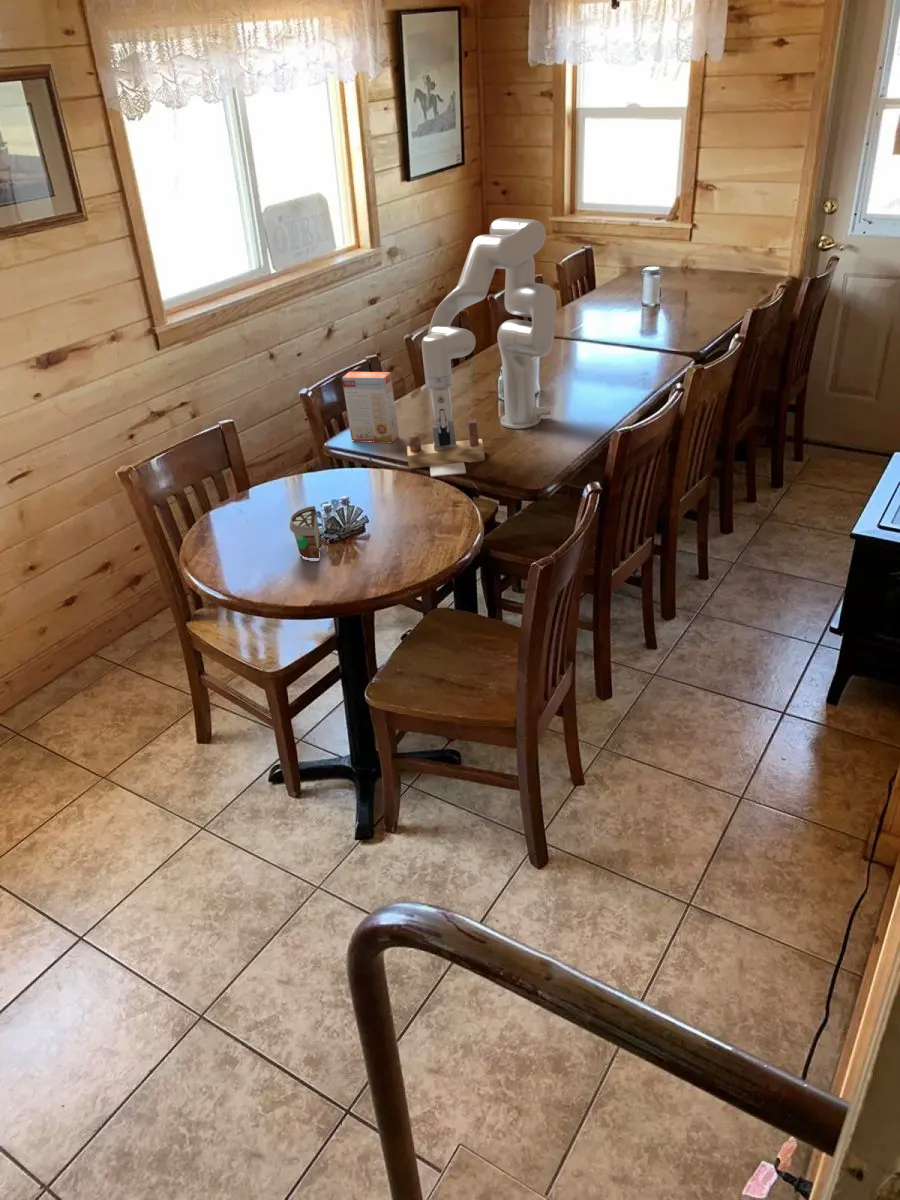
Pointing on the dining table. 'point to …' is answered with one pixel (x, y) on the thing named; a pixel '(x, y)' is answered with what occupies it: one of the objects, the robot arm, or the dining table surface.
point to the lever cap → (436, 430)
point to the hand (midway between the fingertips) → (444, 441)
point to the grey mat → (447, 469)
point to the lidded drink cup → (306, 531)
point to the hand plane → (446, 450)
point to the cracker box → (370, 406)
